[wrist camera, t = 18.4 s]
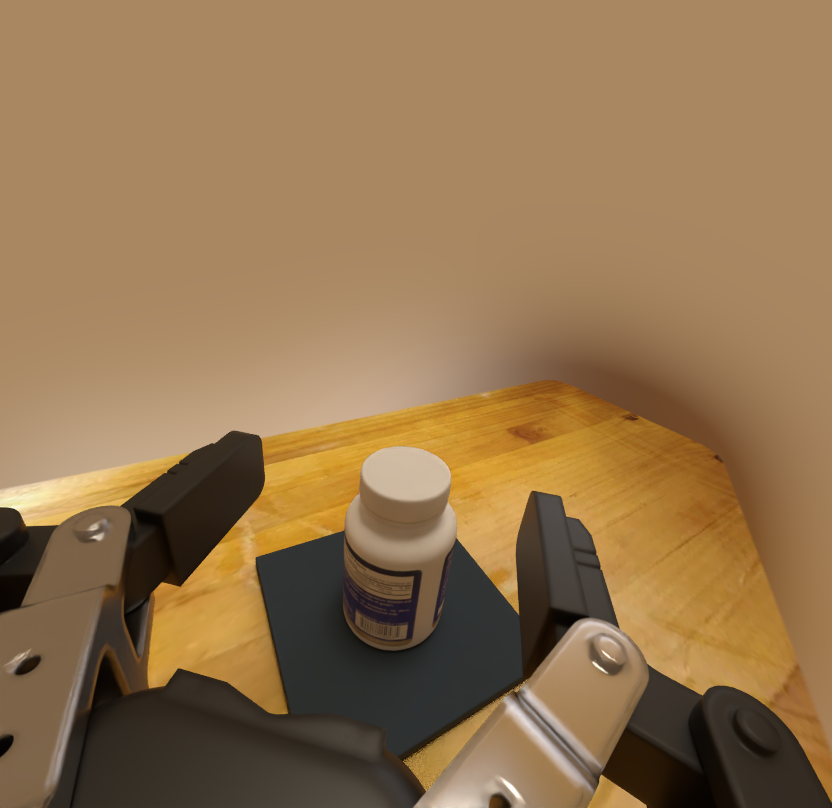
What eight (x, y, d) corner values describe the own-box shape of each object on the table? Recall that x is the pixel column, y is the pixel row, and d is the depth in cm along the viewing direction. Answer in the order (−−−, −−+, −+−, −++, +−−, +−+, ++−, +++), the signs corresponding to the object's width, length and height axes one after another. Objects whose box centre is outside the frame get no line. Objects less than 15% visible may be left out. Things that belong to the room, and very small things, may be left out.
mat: (550, 663, 19) (553, 656, 19) (312, 818, 14) (312, 811, 13) (428, 510, 28) (429, 504, 28) (256, 564, 23) (255, 557, 22)
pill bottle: (400, 550, 24) (416, 428, 20) (460, 615, 20) (492, 481, 17) (323, 594, 21) (323, 457, 17) (378, 679, 17) (395, 531, 13)
